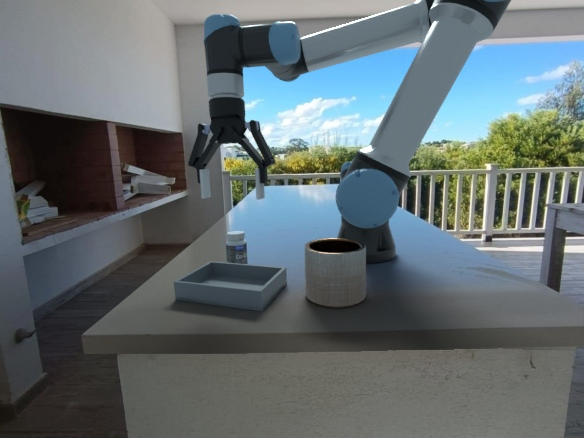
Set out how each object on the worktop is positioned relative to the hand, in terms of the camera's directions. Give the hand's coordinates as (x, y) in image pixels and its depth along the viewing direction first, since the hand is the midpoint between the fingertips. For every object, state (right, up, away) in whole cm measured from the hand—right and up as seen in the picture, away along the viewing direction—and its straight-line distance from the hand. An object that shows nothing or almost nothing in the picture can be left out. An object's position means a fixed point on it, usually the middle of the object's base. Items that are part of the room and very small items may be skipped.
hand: (232, 198), depth 75 cm
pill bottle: (+1, -16, +3) cm, 16 cm away
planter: (+21, -19, -14) cm, 32 cm away
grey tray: (+2, -18, -11) cm, 22 cm away
